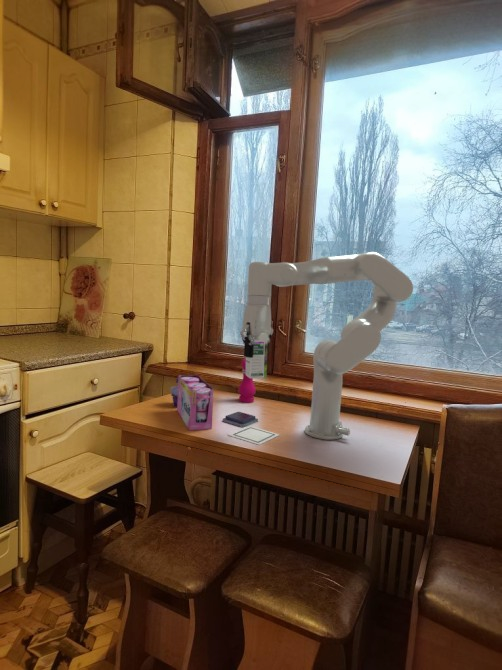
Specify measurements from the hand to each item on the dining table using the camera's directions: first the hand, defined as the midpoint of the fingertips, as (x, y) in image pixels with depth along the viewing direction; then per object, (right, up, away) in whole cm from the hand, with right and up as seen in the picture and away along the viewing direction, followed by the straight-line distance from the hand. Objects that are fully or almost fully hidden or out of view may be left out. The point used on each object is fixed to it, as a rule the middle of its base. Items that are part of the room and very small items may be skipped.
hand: (256, 355), depth 132 cm
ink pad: (-6, -24, +13) cm, 28 cm away
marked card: (-1, -26, 0) cm, 26 cm away
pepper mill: (-4, -22, +41) cm, 46 cm away
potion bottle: (-29, -21, +28) cm, 46 cm away
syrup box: (0, -7, +1) cm, 7 cm away
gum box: (-22, -23, +12) cm, 34 cm away
